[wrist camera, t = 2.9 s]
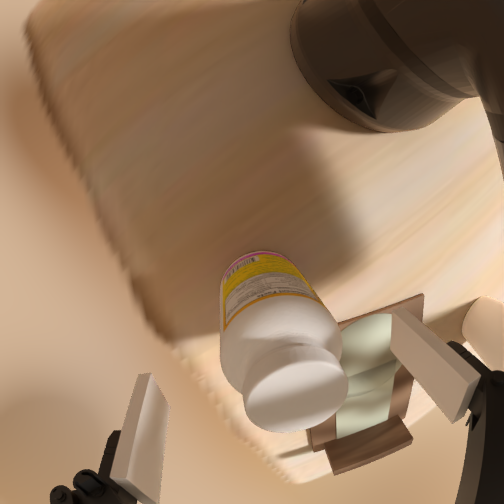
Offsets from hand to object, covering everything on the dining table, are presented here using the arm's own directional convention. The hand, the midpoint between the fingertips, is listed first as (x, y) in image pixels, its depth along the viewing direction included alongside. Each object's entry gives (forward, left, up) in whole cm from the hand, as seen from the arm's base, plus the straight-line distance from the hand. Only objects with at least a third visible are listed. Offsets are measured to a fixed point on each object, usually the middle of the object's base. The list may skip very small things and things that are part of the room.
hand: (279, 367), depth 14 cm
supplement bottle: (0, 0, -10) cm, 10 cm away
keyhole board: (+16, +9, -10) cm, 21 cm away
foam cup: (+13, +27, -10) cm, 32 cm away
